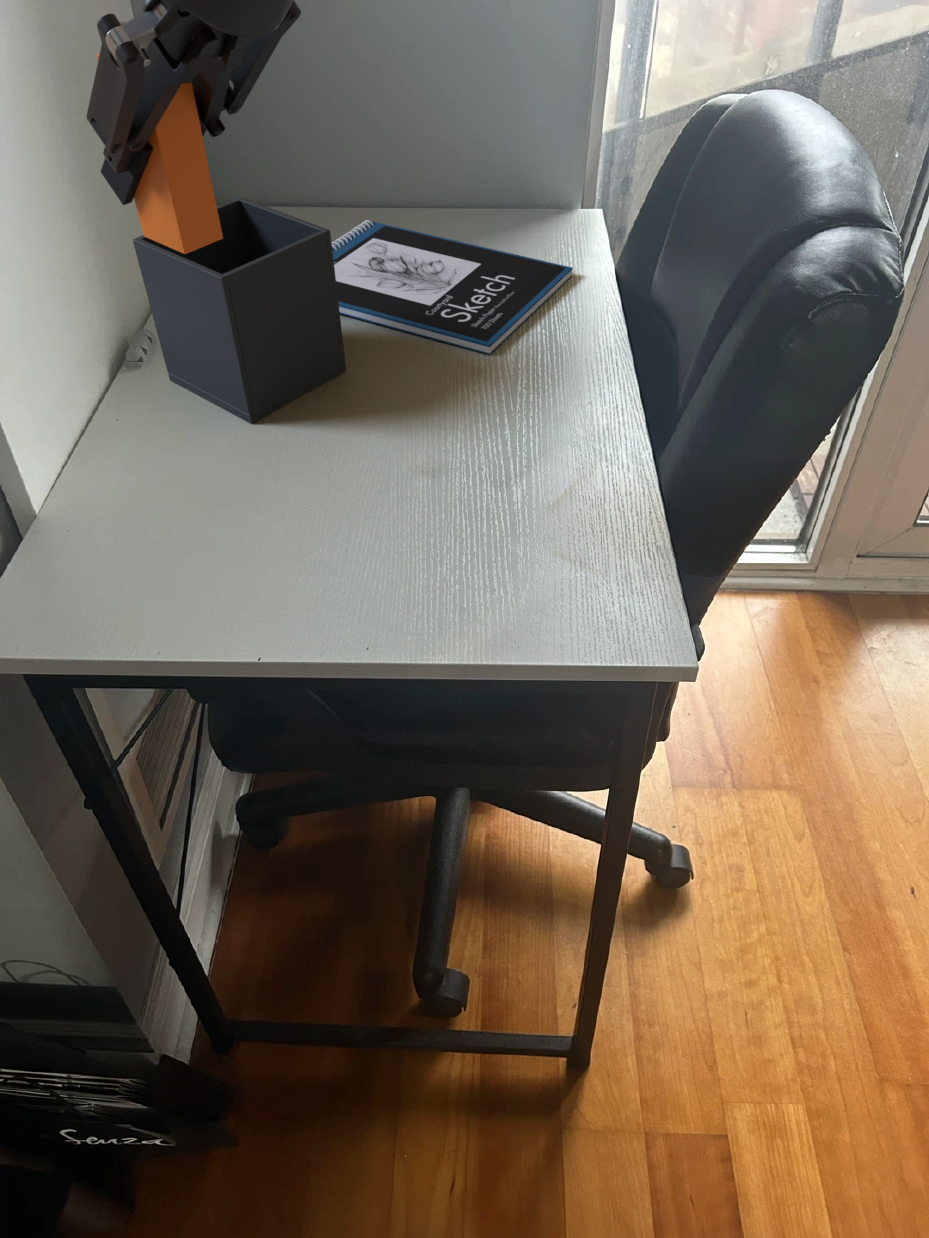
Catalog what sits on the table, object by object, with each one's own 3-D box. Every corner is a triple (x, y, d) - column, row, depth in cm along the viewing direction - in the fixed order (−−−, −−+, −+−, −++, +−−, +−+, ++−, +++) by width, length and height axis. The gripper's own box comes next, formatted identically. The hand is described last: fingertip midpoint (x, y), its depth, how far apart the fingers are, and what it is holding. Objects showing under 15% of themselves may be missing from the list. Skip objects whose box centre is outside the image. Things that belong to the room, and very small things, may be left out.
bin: (251, 424, 93) (221, 278, 83) (169, 380, 99) (132, 239, 89) (346, 370, 100) (330, 229, 90) (264, 332, 106) (240, 197, 96)
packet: (185, 254, 67) (141, 67, 59) (143, 236, 70) (95, 53, 61) (223, 238, 69) (186, 54, 61) (182, 221, 72) (140, 42, 63)
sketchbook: (490, 357, 102) (490, 339, 101) (268, 298, 113) (265, 282, 111) (572, 277, 115) (573, 260, 114) (366, 231, 126) (365, 215, 124)
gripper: (156, 22, 46) (73, 262, 65) (393, -37, 54) (257, 190, 74) (61, -125, 45) (5, 165, 64) (319, -161, 53) (200, 103, 73)
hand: (140, 178), depth 69 cm, fingers closed on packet, 3 cm apart
